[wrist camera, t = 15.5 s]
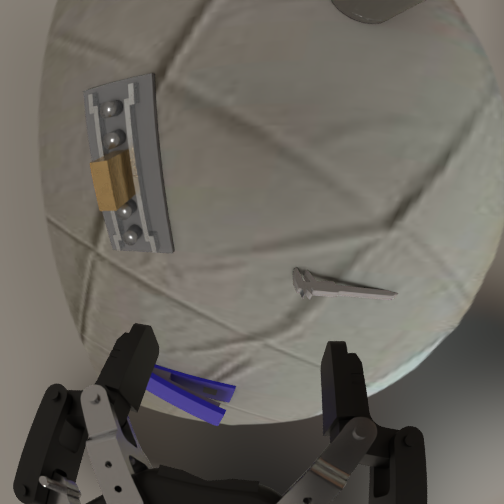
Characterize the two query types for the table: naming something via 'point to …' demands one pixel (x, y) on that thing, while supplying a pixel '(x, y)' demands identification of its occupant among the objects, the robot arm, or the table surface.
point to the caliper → (334, 288)
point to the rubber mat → (148, 157)
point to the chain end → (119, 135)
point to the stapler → (190, 393)
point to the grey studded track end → (134, 230)
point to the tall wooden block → (113, 180)
